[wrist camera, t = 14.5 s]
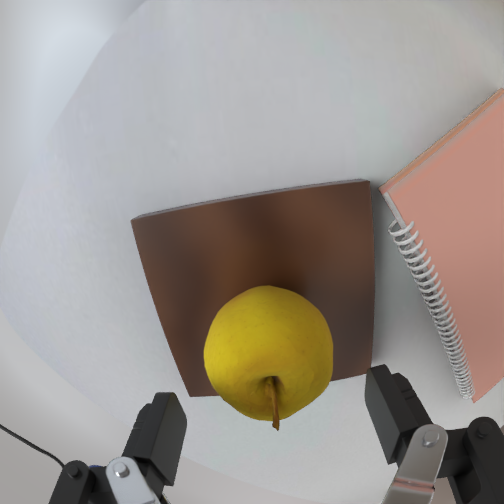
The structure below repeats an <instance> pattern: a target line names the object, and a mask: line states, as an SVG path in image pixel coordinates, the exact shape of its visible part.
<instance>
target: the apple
mask: <svg viewBox="0 0 504 504" xmlns="http://www.w3.org/2000/svg"><path fill="white" fill-rule="evenodd" d="M204 362H205V365H204V366H205V368H206V372H207V375H208V377H209V380H210V382H211V384H212V386H213V388H214V389H215V390H216V392H217V393H218V394H219V395H220V396H221V397H222V399H223V400H224V401H226V402H227V403H228V404H230V405H231V406H232V407H233V408H235V409H236V410H237V411H239V412H240V413H242V414H243V415H245V416H248V417H250V418H253V419H256V420H265V421H273V424H272V425H273V427H274V428H276V429H277V431H278V430H279V420H282V419H285V418H287V417H289V416H291V415H293V414H294V413H296V412H297V411H299V410H301V409H302V408H304V407H305V406H307V405H308V404H310V403H311V402H312V401H314V400H315V399H316V398H317V397H318V396H320V395H321V394H322V393H323V392H324V390H325V389H326V387H327V386H328V384H329V382H330V380H331V376H332V371H333V342H332V336H331V333H330V330H329V327H328V324H327V322H326V320H325V318H324V316H323V315H322V314H321V312H320V311H319V310H318V309H317V308H316V307H315V306H314V305H313V304H312V303H311V302H309V301H308V300H306V299H305V298H304V297H302V296H301V295H299V294H297V293H295V292H292V291H290V290H287V289H283V288H278V287H274V286H270V285H268V286H258V287H254V288H251V289H249V290H247V291H245V292H243V293H241V294H239V295H238V296H236V297H234V298H233V299H231V300H230V301H229V302H228V303H226V304H225V305H224V306H223V307H222V308H221V309H220V310H219V312H218V313H217V315H216V317H215V318H214V320H213V322H212V324H211V327H210V329H209V333H208V336H207V339H206V342H205V347H204Z"/></svg>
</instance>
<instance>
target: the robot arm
mask: <svg viewBox="0 0 504 504" xmlns="http://www.w3.org/2000/svg"><path fill="white" fill-rule="evenodd" d="M365 402H366V406H367V409H368V411H369V414H370V417H371V419H372V422H373V424H374V427H375V430H376V432H377V435H378V438H379V441H380V443H381V446H382V449H383V452H384V454H385V457H386V460H387V463H388V465H389V464H392V463H395V462H396V463H397V466H398V470H397V473H396V475H395V477H394V479H393V481H392V483H391V485H390V487H389V489H388V491H387V493H386V495H385V497H384V499H383V501H382V503H381V504H430V503H431V500H432V497H433V495H434V491H435V488H434V484H435V481H436V479H437V478H444V477H447V478H448V481H449V483H450V486H451V489H452V492H453V495H454V498H455V501H456V504H504V435H503V433H502V432H501V430H500V428H499V426H498V425H497V423H496V422H495V421H494V420H493V419H491V418H489V417H479V418H476V419H475V420H473V421H472V422H471V423H470V425H469V427H468V428H462V429H455V430H445V429H444V428H443V427H441V426H439V425H436V424H433V422H432V421H431V419H430V417H429V416H428V414H427V412H426V410H425V409H424V407H423V405H422V403H421V401H420V400H419V398H418V397H417V395H416V393H415V391H414V389H413V388H412V386H411V384H410V383H409V381H408V379H407V378H405V377H404V376H402V375H401V374H400V373H395V374H391V373H390V371H389V369H388V367H387V366H386V365H385V364H383V365H379V366H376V367H372V368H368V369H367V375H366V385H365ZM0 428H1V429H2V430H4V431H6V432H7V433H9V434H10V435H12V436H14V437H15V438H17V439H19V440H21V441H22V442H24V443H26V444H27V445H29V446H30V447H32V448H34V449H36V450H38V451H40V452H42V453H44V454H45V455H47V456H49V457H51V458H52V459H54V460H55V461H56V462H58V463H59V464H60V466H61V467H62V472H61V474H60V476H59V479H58V481H57V484H56V486H55V489H54V491H53V494H52V496H51V499H50V502H49V504H170V502H169V501H168V499H167V498H166V496H165V494H164V493H163V488H164V485H166V486H173V485H174V481H175V476H176V472H177V467H178V462H179V458H180V454H181V450H182V445H183V441H184V437H185V432H186V428H187V419H186V415H185V413H184V411H183V409H182V407H181V404H180V402H179V400H178V398H177V396H176V394H175V393H174V392H158V393H156V394H155V396H154V399H153V402H152V404H148V403H147V404H146V405H145V406H144V407H143V408H142V409H141V410H140V412H139V414H138V416H137V419H136V422H135V424H134V426H133V429H132V431H131V434H130V436H129V439H128V441H127V444H126V446H125V449H124V452H123V454H122V456H121V457H118V458H115V459H113V460H112V461H111V462H109V464H108V465H107V466H105V467H92V468H89V467H88V466H87V465H86V464H85V463H84V462H82V461H78V460H75V461H71V462H69V463H67V464H66V465H64V464H63V463H62V462H61V461H60V460H59V459H58V458H57V457H56V456H54V455H53V454H51V453H49V452H47V451H45V450H43V449H41V448H39V447H37V446H35V445H34V444H32V443H31V442H29V441H27V440H26V439H24V438H22V437H21V436H19V435H17V434H15V433H13V432H12V431H10V430H8V429H7V428H5V427H4V426H2V425H1V424H0Z"/></svg>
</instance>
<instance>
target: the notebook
mask: <svg viewBox="0 0 504 504" xmlns="http://www.w3.org/2000/svg"><path fill="white" fill-rule="evenodd" d="M378 189H379V191H380V193H381V194H382V196H383V197H384V199H385V201H386V203H387V204H388V206H389V208H390V209H391V211H392V213H393V215H394V216H395V218H396V219H395V220H394V221H393V222H392V223H391V224H390V226H389V227H388V232H389V233H390V234H391V235H392V236H393V241H394V242H395V243H396V244H397V245H398V250H399V251H400V252H401V253H402V257H403V259H404V260H405V261H406V264H407V267H408V268H409V269H410V272H411V274H412V276H413V277H414V281H415V282H416V283H417V285H418V289H419V290H420V291H421V295H422V296H423V298H424V302H425V303H426V304H427V308H428V309H429V312H430V315H431V316H432V320H433V321H434V324H435V326H436V327H437V331H438V332H439V336H440V337H441V341H442V342H443V346H444V349H445V351H446V354H447V356H448V359H449V362H450V364H451V367H452V371H453V374H454V376H455V379H456V382H457V385H458V388H459V392H460V395H461V397H462V398H464V399H469V398H471V399H472V401H473V403H475V402H476V401H477V400H479V399H480V398H481V397H482V396H483V395H485V394H486V393H487V392H488V391H489V390H490V389H491V388H492V387H494V386H495V385H496V384H497V383H498V382H499V381H500V380H501V379H502V378H503V377H504V90H503V88H500V89H499V90H498V91H497V92H496V93H495V94H493V95H492V96H491V97H490V98H489V99H488V100H486V101H485V102H484V103H483V104H482V105H481V106H479V107H478V108H477V109H476V110H475V111H473V112H472V113H471V114H470V115H469V116H467V117H466V118H465V119H464V120H463V121H461V122H460V123H459V124H458V125H457V126H455V127H454V128H453V129H452V130H451V131H449V132H448V133H447V134H446V135H444V136H443V137H442V138H441V139H440V140H438V141H437V142H436V143H435V144H433V145H432V146H431V147H430V148H428V149H427V150H426V151H425V152H424V153H422V154H421V155H420V156H419V157H417V158H416V159H415V160H414V161H412V162H411V163H410V164H408V165H407V166H406V167H405V168H403V169H402V170H401V171H400V172H398V173H397V174H396V175H395V176H393V177H392V178H391V179H389V180H388V181H387V182H386V183H384V184H383V185H382V186H381V187H379V188H378ZM397 222H398V223H399V225H400V227H401V228H400V229H399V230H398V231H396V232H391V229H392V227H393V226H394V225H395V224H396V223H397ZM402 234H405V237H404V238H403V239H402V240H401V241H400V242H397V241H396V238H397V236H400V235H402ZM408 243H409V245H408V246H407V247H406V248H405V249H404V251H403V250H401V246H402V245H406V244H408ZM410 248H412V249H410ZM409 249H410V250H409ZM410 253H412V254H411V255H410V256H409V257H408V259H407V258H405V254H410ZM413 256H416V257H415V258H413V259H412V257H413ZM409 262H410V263H412V262H414V263H413V265H412V266H409ZM418 263H419V264H420V266H417V267H415V266H416V264H418ZM413 270H414V271H416V270H417V271H416V273H415V274H413ZM422 270H423V272H424V274H421V275H418V274H419V272H420V271H422ZM425 277H426V279H427V281H426V282H421V281H422V280H423V279H424V278H425ZM416 278H420V279H419V281H416ZM428 284H429V286H430V288H429V289H426V290H424V288H425V287H426V285H428ZM420 285H421V286H422V288H420ZM431 291H432V292H433V294H432V295H431V296H429V297H427V294H428V293H429V292H431ZM423 292H424V293H425V294H424V295H423ZM426 299H427V301H426ZM431 299H436V300H435V301H434V302H433V303H429V302H430V300H431ZM436 305H438V307H436V308H435V309H434V310H432V307H433V306H436ZM429 306H430V308H429ZM440 311H441V312H440ZM431 312H433V313H431ZM435 312H439V313H438V314H437V316H435V315H434V314H435ZM441 314H442V315H441ZM434 318H435V319H434ZM439 318H441V319H440V320H439V321H436V320H437V319H439ZM443 319H444V321H442V320H443ZM441 321H442V322H441ZM436 324H437V325H436ZM439 324H442V325H441V327H439ZM445 325H446V327H443V326H445ZM441 330H443V332H441ZM446 330H448V332H447V333H445V331H446ZM443 335H445V336H444V337H443ZM448 335H450V337H449V338H446V337H447V336H448ZM444 340H446V342H444ZM449 340H451V341H452V342H450V343H448V341H449ZM444 344H445V345H444ZM452 344H453V346H452V347H451V348H450V345H452ZM446 345H448V346H446ZM453 349H455V350H454V351H453V352H451V350H453ZM448 350H449V351H448ZM449 354H450V355H449ZM453 354H455V355H454V356H452V355H453ZM451 358H452V359H451ZM453 359H455V360H454V361H453ZM452 362H453V363H452ZM454 363H456V364H454ZM453 366H454V367H453ZM455 367H457V368H455ZM459 367H460V368H459ZM458 368H459V369H458ZM454 370H455V371H454ZM456 371H458V372H456ZM460 371H462V372H460ZM457 374H459V375H457ZM461 374H462V376H460V375H461ZM462 377H463V379H461V378H462ZM458 378H459V379H458ZM459 381H460V382H459ZM462 381H464V382H462ZM461 382H462V383H461ZM460 384H461V385H460ZM463 384H465V385H464V386H462V385H463ZM461 387H462V388H461ZM464 387H466V389H463V388H464ZM462 390H467V391H466V392H463V391H462ZM462 393H468V394H467V395H465V394H462ZM462 395H463V396H469V397H463V396H462Z"/></svg>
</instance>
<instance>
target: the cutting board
mask: <svg viewBox="0 0 504 504" xmlns="http://www.w3.org/2000/svg"><path fill="white" fill-rule="evenodd" d="M131 224H132V228H133V232H134V236H135V240H136V244H137V248H138V251H139V255H140V258H141V262H142V265H143V269H144V272H145V276H146V279H147V282H148V286H149V289H150V292H151V295H152V298H153V301H154V304H155V307H156V310H157V313H158V316H159V319H160V322H161V325H162V328H163V330H164V333H165V336H166V339H167V341H168V344H169V347H170V349H171V352H172V355H173V357H174V360H175V362H176V365H177V367H178V370H179V372H180V375H181V377H182V380H183V382H184V384H185V387H186V389H187V391H188V394H189V396H190V397H201V396H220V395H219V394H218V393H217V392H216V390H215V389H214V388H213V386H212V384H211V382H210V380H209V377H208V375H207V372H206V368H205V366H204V365H205V362H204V347H205V342H206V339H207V336H208V333H209V329H210V327H211V324H212V322H213V320H214V318H215V317H216V315H217V313H218V312H219V310H220V309H221V308H222V307H223V306H224V305H225V304H226V303H228V302H229V301H230V300H231V299H233V298H234V297H236V296H238V295H239V294H241V293H243V292H245V291H247V290H249V289H251V288H254V287H258V286H268V285H270V286H274V287H278V288H283V289H287V290H290V291H292V292H295V293H297V294H299V295H301V296H302V297H304V298H305V299H306V300H308V301H309V302H311V303H312V304H313V305H314V306H315V307H316V308H317V309H318V310H319V311H320V312H321V314H322V315H323V316H324V318H325V320H326V322H327V324H328V327H329V330H330V333H331V336H332V342H333V371H332V376H331V380H330V381H335V380H340V379H345V378H349V377H354V376H358V375H362V374H367V369H368V368H371V359H372V346H373V330H374V305H375V255H374V230H373V213H372V200H371V189H370V181H368V180H363V179H355V180H346V181H337V182H329V183H321V184H313V185H306V186H298V187H291V188H284V189H278V190H271V191H265V192H258V193H252V194H246V195H240V196H234V197H229V198H223V199H217V200H212V201H207V202H201V203H196V204H191V205H186V206H181V207H176V208H171V209H166V210H162V211H157V212H152V213H148V214H143V215H140V216H138V217H136V218H134V219H132V220H131Z"/></svg>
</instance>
